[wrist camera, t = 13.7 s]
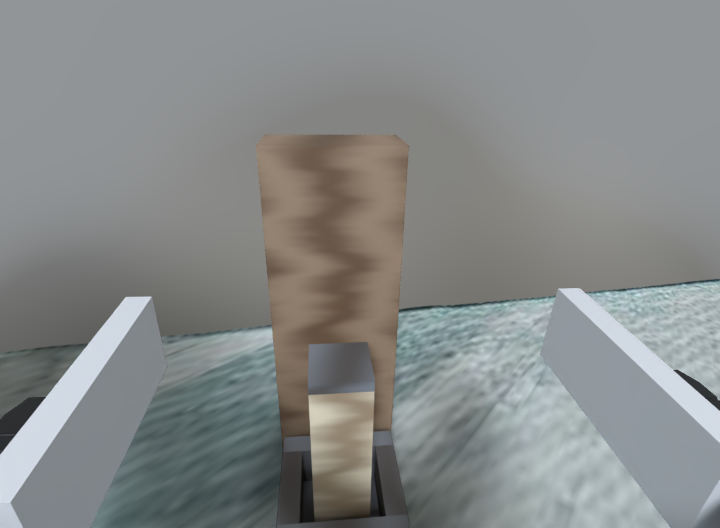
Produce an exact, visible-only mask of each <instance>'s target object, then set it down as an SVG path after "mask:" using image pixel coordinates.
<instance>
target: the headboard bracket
mask: <svg viewBox="0 0 720 528" xmlns="http://www.w3.org/2000/svg"><path fill="white" fill-rule="evenodd" d="M256 150H257V162H258V173H259V184H260V195H261V205H262V206H261V207H262V218H263V229H264V240H265V251H266V263H267V274H268V284H269V285H268V286H269V297H270V308H271V319H272V331H273V342H274V353H275V365H276V376H277V387H278V398H279V410H280V421H281V432H282V443H283V455H282V466H281V477H280V489H279V500H278V511H277V523H276V528H410V525H409V520H408V515H407V510H406V505H405V500H404V496H403V491H402V486H401V481H400V476H399V471H398V466H397V461H396V456H395V451H394V446H393V442H392V437H391V424H392V408H393V392H394V376H395V360H396V344H397V328H398V312H399V296H400V295H399V294H400V278H401V264H402V246H403V230H404V215H405V199H406V183H407V166H408V151H409V145H407V144H406V143H405V142H404V141H402V140H401V139H400V138H399V137H398V136H397V135H264V136H263V138H262V139H261V140H260V141H259V143H258V144H257V146H256ZM352 342H368V347H369V352H370V358H371V363H372V368H373V374H374V379H375V392H374V418H373V445H372V472H371V498H370V518H359V519H346V520H334V521H322V522H315V519H314V499H313V479H312V458H311V438H310V418H309V397H308V362H309V344H330V343H352Z"/></svg>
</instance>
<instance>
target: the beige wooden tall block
mask: <svg viewBox="0 0 720 528" xmlns="http://www.w3.org/2000/svg"><path fill="white" fill-rule="evenodd" d="M374 392H375V379H374V374H373V368H372V363H371V358H370V352H369V347H368V342H352V343H330V344H309V362H308V397H309V418H310V438H311V458H312V479H313V499H314V519H315V522H322V521H334V520H346V519H359V518H370V498H371V472H372V445H373V418H374Z"/></svg>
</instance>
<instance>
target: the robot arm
mask: <svg viewBox="0 0 720 528" xmlns="http://www.w3.org/2000/svg"><path fill="white" fill-rule="evenodd" d="M540 355H541V356H542V358H543V359H544V360H545V362H546V363H547V364H548V366H549V367H550V368H551V369H552V371H553V372H554V373H555V375H556V376H557V377H558V379H559V380H560V381H561V383H562V384H563V385H564V387H565V388H566V389H567V391H568V392H569V393H570V395H571V396H572V397H573V399H574V400H575V401H576V403H577V404H578V405H579V407H580V408H581V409H582V411H583V412H584V413H585V415H586V416H587V417H588V419H589V420H590V421H591V423H592V424H593V425H594V426H595V428H596V429H597V430H598V432H599V433H600V434H601V436H602V437H603V438H604V440H605V441H606V442H607V444H608V445H609V446H610V448H611V449H612V450H613V452H614V453H615V454H616V456H617V457H618V458H619V460H620V461H621V462H622V464H623V465H624V466H625V468H626V469H627V470H628V472H629V473H630V474H631V476H632V477H633V478H634V479H635V481H636V482H637V483H638V485H639V486H640V487H641V489H642V490H643V491H644V493H645V494H646V495H647V497H648V498H649V499H650V501H651V502H652V503H653V505H654V506H655V507H656V509H657V510H658V511H659V513H660V514H661V515H662V517H663V518H664V519H665V521H666V522H667V523H668V525H669V526H670V527H671V528H720V401H718V400H717V397H716V396H715V395H714V394H713V393H711V392H710V391H709V390H708V389H707V388H706V387H704V386H703V385H702V384H701V383H700V382H698V381H696V380H694V379H693V378H691V377H689V376H687V375H686V374H684V373H682V372H680V371H679V370H672V369H671V368H670V367H669V366H668V365H667V364H665V363H664V362H663V361H662V360H661V359H660V358H659V357H657V356H656V355H655V354H654V353H653V352H652V351H651V350H649V349H648V348H647V347H646V346H645V345H644V344H643V343H641V342H640V341H639V340H638V339H637V338H636V337H635V336H633V335H632V334H631V333H630V332H629V331H628V330H627V329H625V328H624V327H623V326H622V325H621V324H620V323H619V322H617V321H616V320H615V319H614V318H613V317H612V316H611V315H610V314H608V313H607V312H606V311H605V310H604V309H603V308H602V307H600V306H599V305H598V304H597V303H596V302H595V301H594V300H592V299H591V298H590V297H589V296H588V295H587V294H586V293H584V292H583V291H582V290H581V289H580V288H569V289H568V288H566V289H558V291H557V294H556V298H555V302H554V305H553V309H552V313H551V316H550V320H549V323H548V327H547V331H546V334H545V338H544V341H543V345H542V349H541V352H540ZM166 369H167V363H166V359H165V354H164V350H163V345H162V340H161V336H160V332H159V327H158V322H157V317H156V313H155V309H154V304H153V299H152V297H125V299H124V300H123V301H122V302H121V304H120V305H119V306H118V307H117V309H116V310H115V311H114V313H113V314H112V315H111V316H110V317H109V319H108V320H107V321H106V322H105V324H104V325H103V326H102V327H101V329H100V330H99V331H98V333H97V334H96V335H95V336H94V338H93V339H92V340H91V341H90V343H89V344H88V345H87V346H86V348H85V349H84V350H83V351H82V353H81V354H80V355H79V356H78V358H77V359H76V360H75V361H74V363H73V364H72V365H71V366H70V368H69V369H68V370H67V371H66V373H65V374H64V375H63V376H62V378H61V379H60V380H59V382H58V383H57V384H56V385H55V387H54V388H53V389H52V390H51V392H50V393H49V394H48V395H47V397H33V398H28V399H26V400H25V401H24V402H22V403H21V404H19V405H18V406H17V407H15V408H14V409H12V410H11V411H10V412H8V413H7V414H5V415H4V417H3V418H2V419H1V420H0V528H90V527H91V525H92V523H93V521H94V519H95V517H96V515H97V513H98V511H99V509H100V507H101V504H102V502H103V500H104V498H105V496H106V494H107V492H108V490H109V488H110V486H111V484H112V482H113V480H114V477H115V475H116V473H117V471H118V469H119V467H120V465H121V463H122V461H123V459H124V457H125V455H126V452H127V450H128V448H129V446H130V444H131V442H132V440H133V438H134V436H135V434H136V432H137V430H138V428H139V425H140V423H141V421H142V419H143V417H144V415H145V413H146V411H147V409H148V407H149V405H150V403H151V400H152V398H153V396H154V394H155V392H156V390H157V388H158V386H159V384H160V382H161V380H162V378H163V376H164V373H165V371H166Z"/></svg>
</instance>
